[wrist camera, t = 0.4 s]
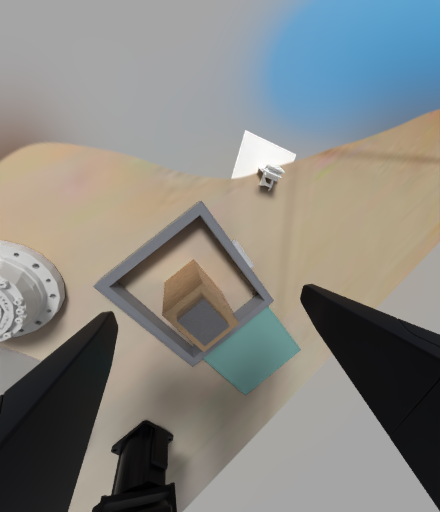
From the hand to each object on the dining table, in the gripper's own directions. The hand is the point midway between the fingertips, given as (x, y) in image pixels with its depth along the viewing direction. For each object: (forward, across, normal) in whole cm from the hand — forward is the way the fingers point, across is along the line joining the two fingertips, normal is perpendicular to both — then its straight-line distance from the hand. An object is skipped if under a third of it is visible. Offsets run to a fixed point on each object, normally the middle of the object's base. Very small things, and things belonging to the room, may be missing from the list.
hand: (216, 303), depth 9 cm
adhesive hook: (+16, -8, -3) cm, 18 cm away
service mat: (+11, -8, +20) cm, 25 cm away
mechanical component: (+13, +19, +5) cm, 24 cm away
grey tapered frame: (+13, +1, +8) cm, 15 cm away
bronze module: (+13, +1, +8) cm, 15 cm away
